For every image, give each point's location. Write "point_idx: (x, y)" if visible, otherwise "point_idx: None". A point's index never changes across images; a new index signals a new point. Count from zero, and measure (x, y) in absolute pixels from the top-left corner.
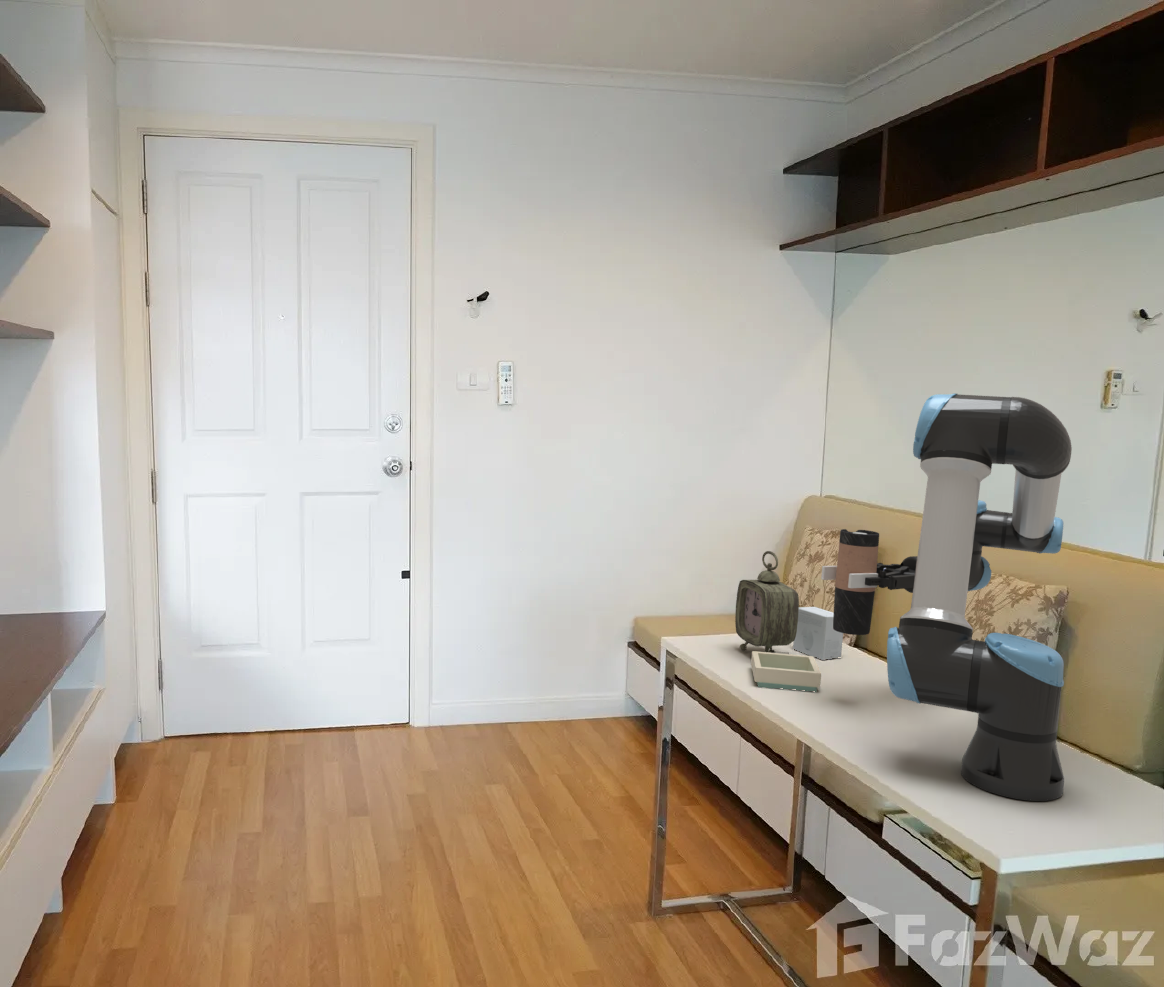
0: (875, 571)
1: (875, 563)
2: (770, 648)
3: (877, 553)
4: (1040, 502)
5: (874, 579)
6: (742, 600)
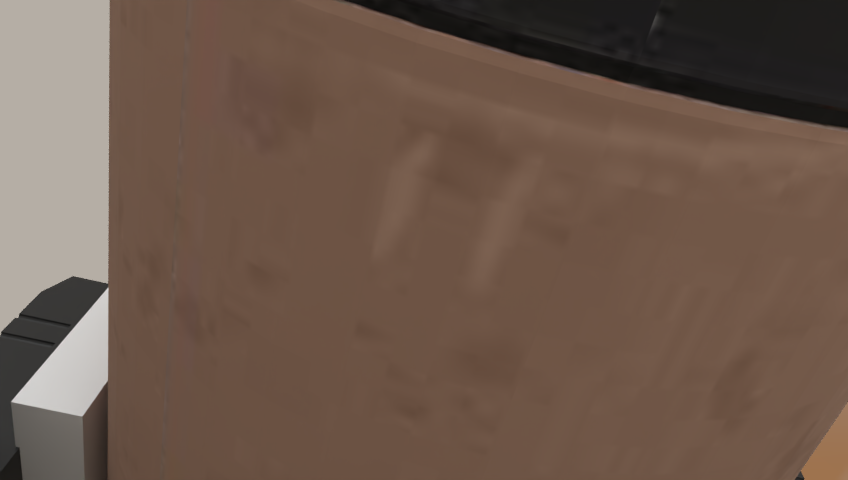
0: (109, 433)
1: (109, 282)
2: None
3: (119, 120)
4: None
5: (11, 335)
6: None
